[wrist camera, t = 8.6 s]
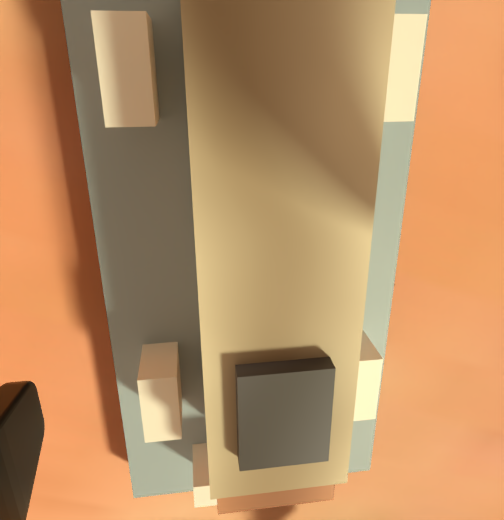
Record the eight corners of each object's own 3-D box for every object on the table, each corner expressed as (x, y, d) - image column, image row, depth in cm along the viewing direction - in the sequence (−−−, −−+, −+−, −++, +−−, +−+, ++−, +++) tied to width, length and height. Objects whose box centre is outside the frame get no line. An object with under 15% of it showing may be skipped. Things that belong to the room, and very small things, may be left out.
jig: (426, -168, 12) (510, -249, 9) (357, 444, 21) (388, 511, 18) (46, -191, 11) (-9, -294, 8) (137, 468, 20) (128, 545, 17)
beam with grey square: (328, -3, 12) (412, -46, 8) (307, 409, 18) (349, 526, 13) (180, -6, 12) (176, -52, 7) (205, 420, 17) (213, 545, 13)
